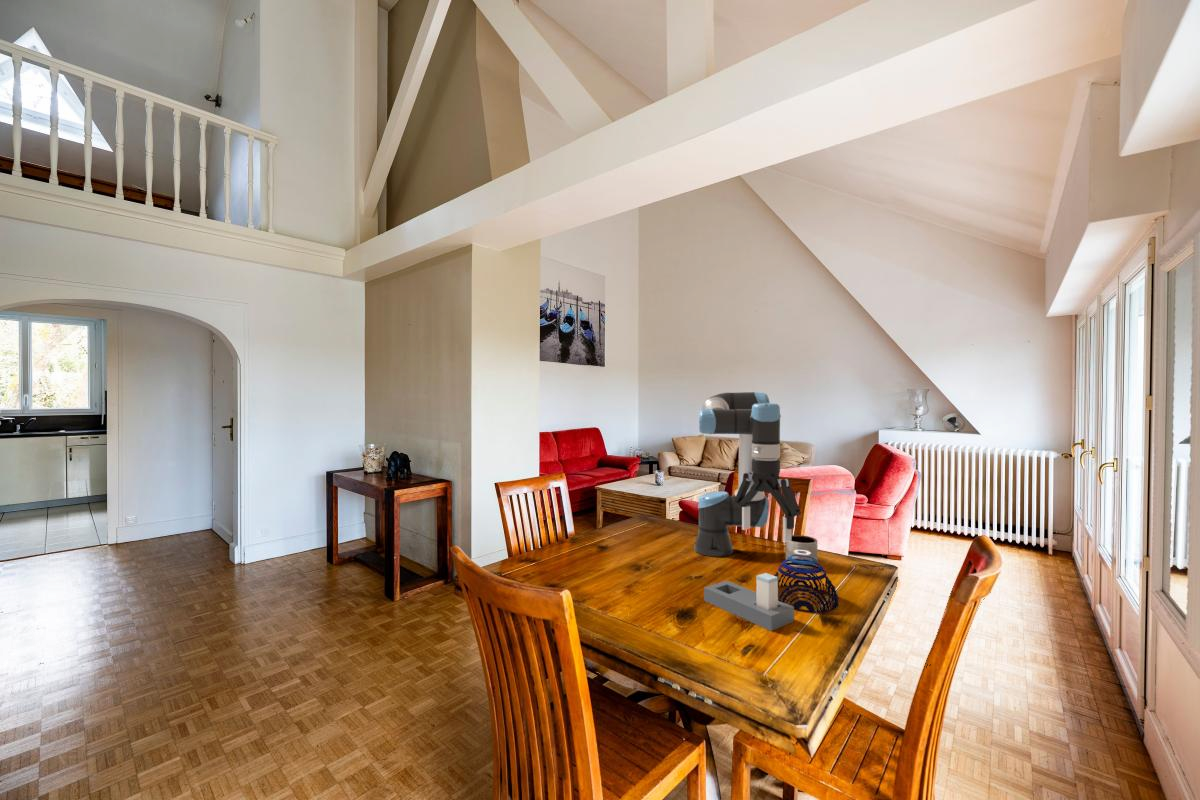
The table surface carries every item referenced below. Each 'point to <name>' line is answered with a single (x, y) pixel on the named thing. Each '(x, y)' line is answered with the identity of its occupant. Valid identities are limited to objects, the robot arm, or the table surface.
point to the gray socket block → (747, 605)
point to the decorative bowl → (803, 578)
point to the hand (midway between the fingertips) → (765, 534)
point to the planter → (802, 544)
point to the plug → (767, 591)
